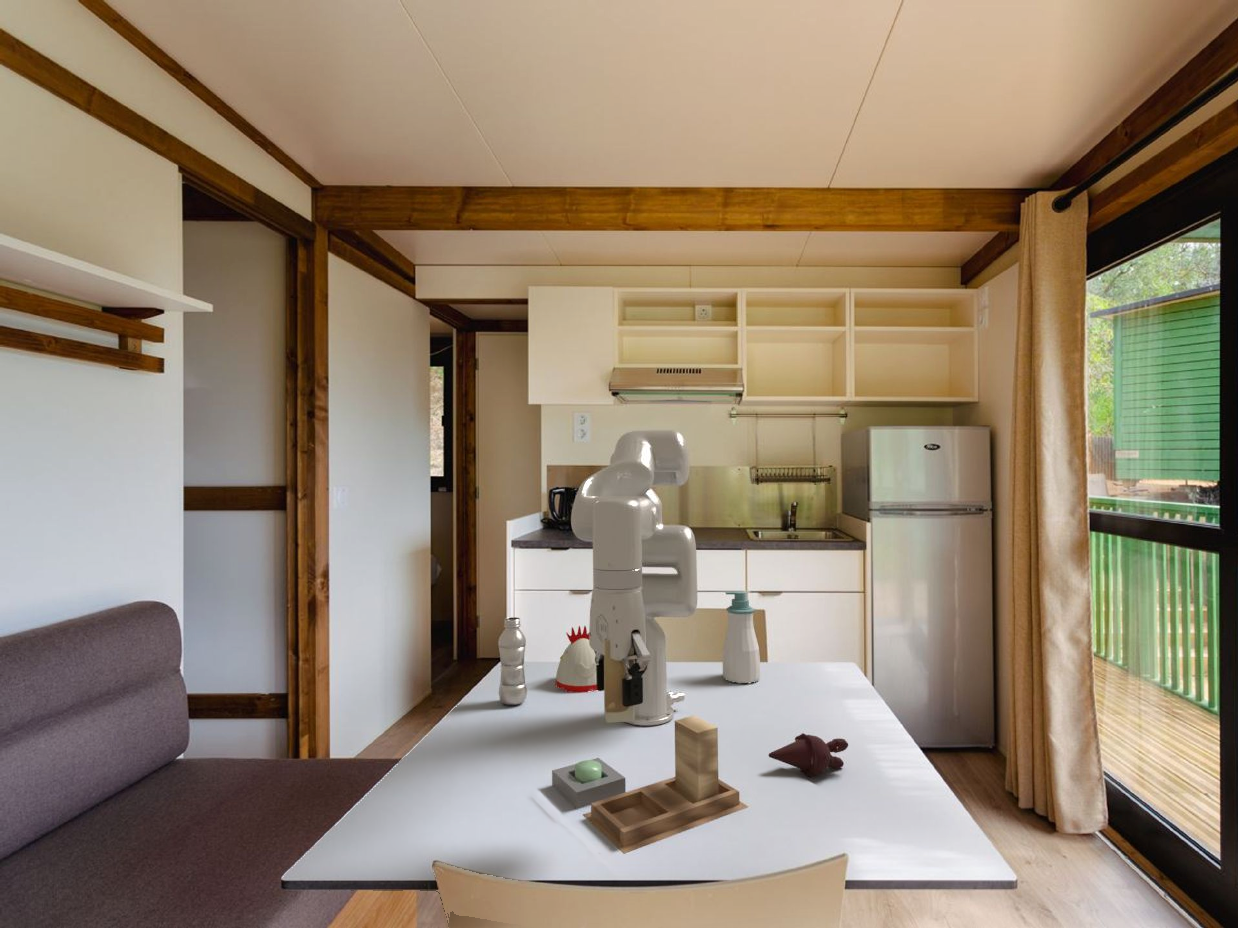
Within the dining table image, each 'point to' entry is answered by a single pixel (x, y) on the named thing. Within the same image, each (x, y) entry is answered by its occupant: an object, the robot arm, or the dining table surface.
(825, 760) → the icecream
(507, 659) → the plastic bottle
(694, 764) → the block
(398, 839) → the dining table surface
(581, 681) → the cream and red dome
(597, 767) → the button
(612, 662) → the skincare box
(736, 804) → the open wooden box
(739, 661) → the soap bottle
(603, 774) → the grey square holder
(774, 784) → the dining table surface
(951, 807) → the dining table surface
